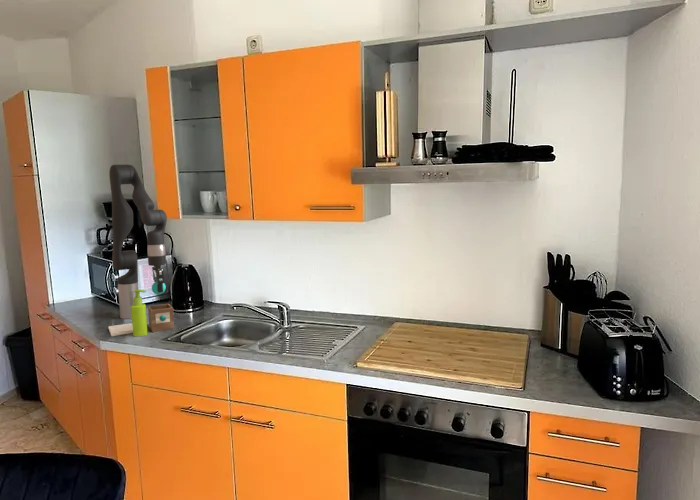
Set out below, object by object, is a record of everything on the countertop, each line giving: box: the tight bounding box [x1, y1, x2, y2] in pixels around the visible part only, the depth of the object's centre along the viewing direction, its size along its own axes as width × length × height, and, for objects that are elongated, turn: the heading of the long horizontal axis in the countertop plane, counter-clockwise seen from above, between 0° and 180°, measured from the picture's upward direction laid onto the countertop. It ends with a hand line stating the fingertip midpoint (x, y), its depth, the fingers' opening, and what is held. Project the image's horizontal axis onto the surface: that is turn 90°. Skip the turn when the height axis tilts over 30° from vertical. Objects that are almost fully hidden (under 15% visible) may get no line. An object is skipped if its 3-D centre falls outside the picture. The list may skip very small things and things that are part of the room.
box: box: [147, 303, 175, 333], centre depth 227 cm, size 10×9×10 cm
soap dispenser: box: [131, 289, 148, 337], centre depth 218 cm, size 6×7×20 cm
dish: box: [108, 322, 133, 337], centre depth 226 cm, size 13×13×1 cm
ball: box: [151, 281, 167, 295], centre depth 225 cm, size 6×6×6 cm
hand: (159, 290), depth 226 cm, fingers closed on ball, 6 cm apart
